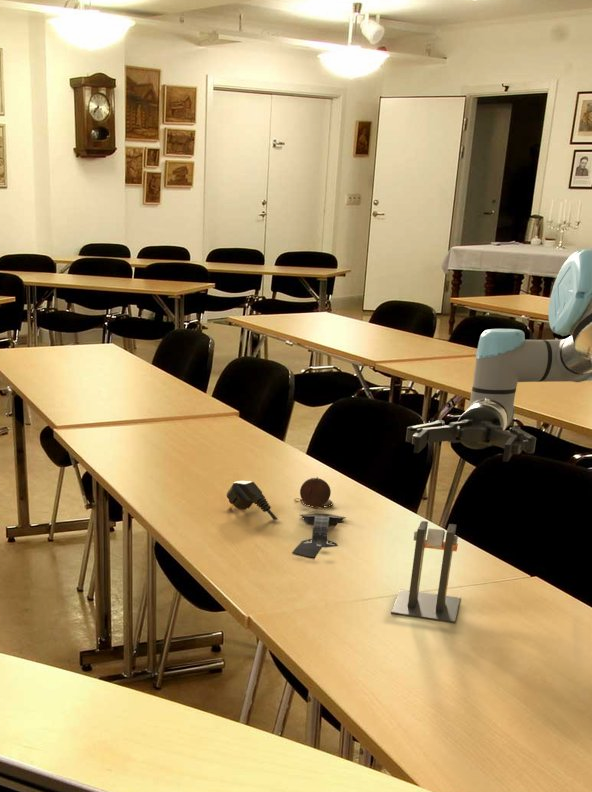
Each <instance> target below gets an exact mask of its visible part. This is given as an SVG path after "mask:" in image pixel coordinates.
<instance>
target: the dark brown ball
mask: <svg viewBox="0 0 592 792" xmlns="http://www.w3.org/2000/svg"><path fill="white" fill-rule="evenodd" d="M331 493H332V492H331V487H330V485H329V484H328V483H327V481H326V480H324V479H322V478H319V476H317V477H311V478H308V479H307V480H305V481H304V482H303V483H302V484H301V487H300V489H299V495H300V498H299V497H298V498H294V499H293V500H294V502H297V500H299V501H300V502H302V501H303V502H302V504H303V503H304V504H306V505H310V506H313V507H312V508H314V509H318V508H317V507H321V508H320V509H325V508H326V507H324V506H329V505H331V504H332V503H333V502H334V501H333V500H331V499H330V497H331ZM304 504H303V505H304ZM333 504H334V503H333ZM333 504H332V505H331V506H329V507H332V506H333ZM306 505H305V506H306ZM310 506H307V507H308V508H311V507H310ZM329 507H328V508H329Z"/></svg>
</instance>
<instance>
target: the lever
mask: <svg viewBox="0 0 592 792" xmlns="http://www.w3.org/2000/svg"><path fill="white" fill-rule="evenodd" d="M445 537H446V531H445V530H444V529H438V528H427V534H426V541H425V548H424V549H432V550H441V551H444V547H445ZM458 546H459V544H458V542H457V545H453V552H457V551H458Z"/></svg>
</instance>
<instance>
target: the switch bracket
mask: <svg viewBox="0 0 592 792" xmlns="http://www.w3.org/2000/svg"><path fill="white" fill-rule="evenodd" d="M428 524H429V521H426V520H421V521H420V522H419V525H418V527H417V530H415V531H414V533H413V541H415V545H414V554H413V562H412V569H411V577H410V585H409V590H408V589H399V591H398V594H397V596H396V599H395V601H394V604H393V607H392V609H391V612H390V615H395V616H400V617H407V618H408V617H409V618H414V619H421V620H428V621H435V622H440V623H441V622H442V623H448V624H456V619H457V617H458V616H457V615H458V611H459V606H460V602H461V599H462V598H461V597H458V596H450V595H447V592H448V586H449V578H450V572H451V567H452V565H451V564H452V558H453V552H454V551H453V545H457V543H458V541H459V540H458V539H459V536H458V535H456V531H457V524H454V523H449V524H448V527H447V530H446V532H445V539H444V542H445V547H444V550H443V554H442V560H441V561H442V562H441V563H442V564H441V567H440V568H441V569H440V575H439V583H438V590H437V594H436V593H431V592H424V591H423V592H422V591H420V585H421V577H422V571H423V562H424V557H425V556H424V555H425V549H426V548H425V541H426V540H427V534H428V526H429V525H428Z"/></svg>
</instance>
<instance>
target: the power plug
mask: <svg viewBox="0 0 592 792" xmlns="http://www.w3.org/2000/svg"><path fill="white" fill-rule="evenodd" d="M226 497H227V499H228V502H229V505H228V506H227V510H231V509H233V507H234V508H235V509H238V510H243V511H246V510H248V509H250V508H251V507H252V506H253V504H254V505H256V506H257V507H258V508H259V509H260V510H262V512H264V513H266V512H267V513H268V515H270V517H271V518H272V520H278V517H277V516H276V515H275V514H274V513H273V512H272V510H271V508H272V507H271V505H270V503H269V502H268V500H267V498H266V497H265V495H264V494H263V491H262V490H261V489H260V488H259V486H258V485H257V484H256V482H254V481H252V480H251V481H250V480H249V481H248V480H237V481H235V482H233V483H232V485H231V486H230V488H229V489H228V491H227V492H226Z"/></svg>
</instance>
